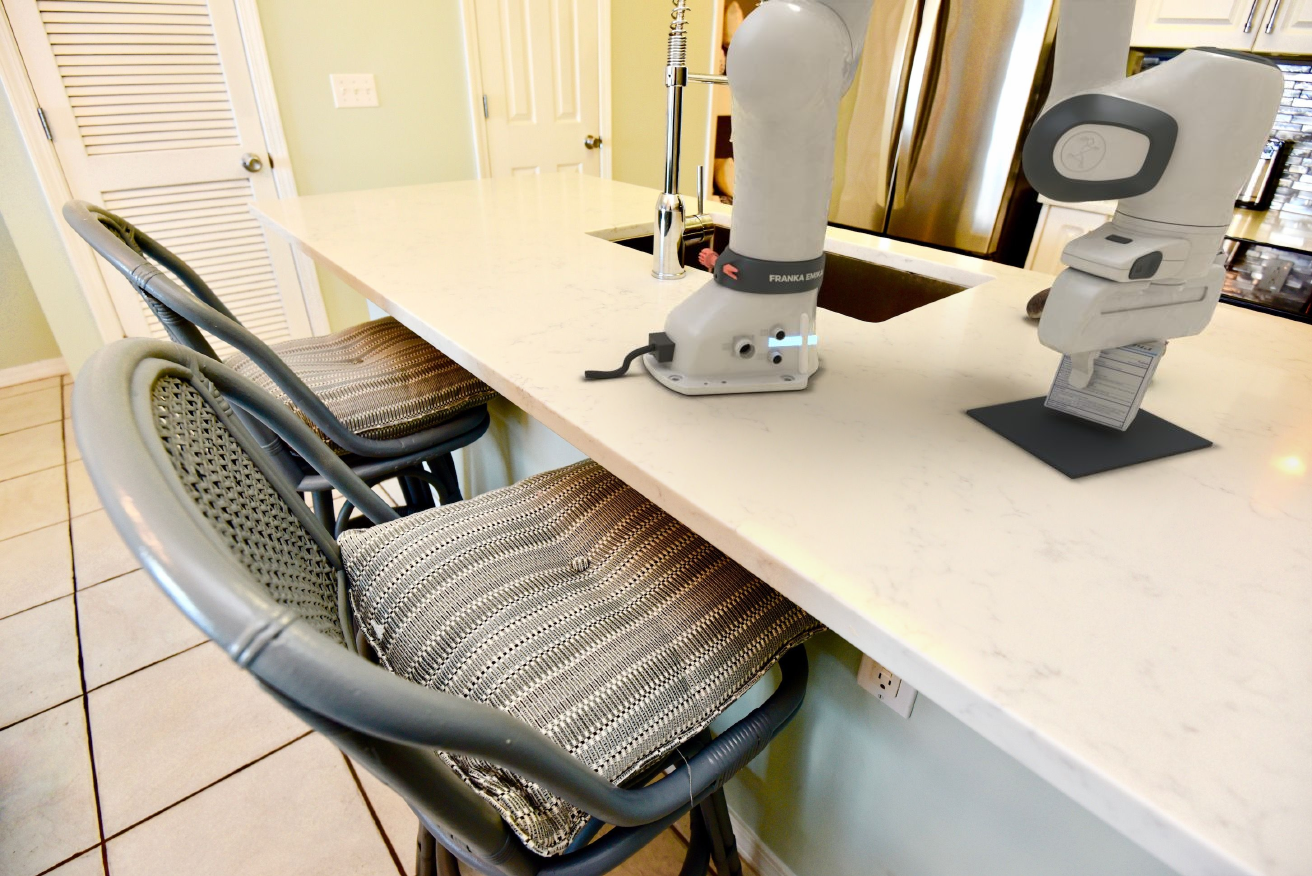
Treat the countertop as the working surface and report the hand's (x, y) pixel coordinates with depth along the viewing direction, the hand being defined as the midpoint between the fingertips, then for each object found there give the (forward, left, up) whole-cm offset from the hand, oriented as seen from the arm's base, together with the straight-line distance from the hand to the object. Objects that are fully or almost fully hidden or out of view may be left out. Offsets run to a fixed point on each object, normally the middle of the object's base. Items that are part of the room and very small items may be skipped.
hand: (1104, 381), depth 69 cm
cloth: (0, 0, -6) cm, 6 cm away
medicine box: (0, 0, -4) cm, 4 cm away
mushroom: (+25, +27, -6) cm, 37 cm away
